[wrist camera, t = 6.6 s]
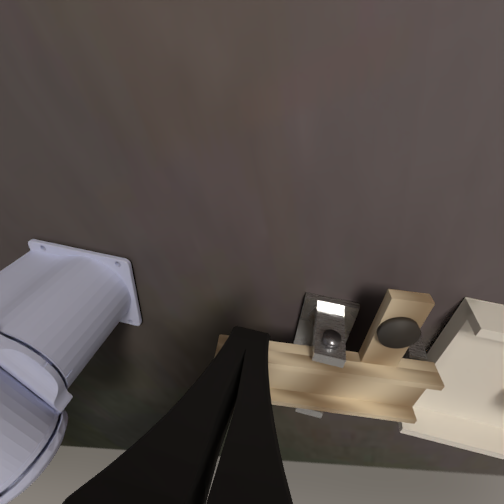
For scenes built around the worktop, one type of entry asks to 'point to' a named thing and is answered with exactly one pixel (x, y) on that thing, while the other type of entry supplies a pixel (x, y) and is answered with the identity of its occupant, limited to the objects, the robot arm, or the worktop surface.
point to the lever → (360, 367)
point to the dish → (466, 382)
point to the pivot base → (333, 333)
